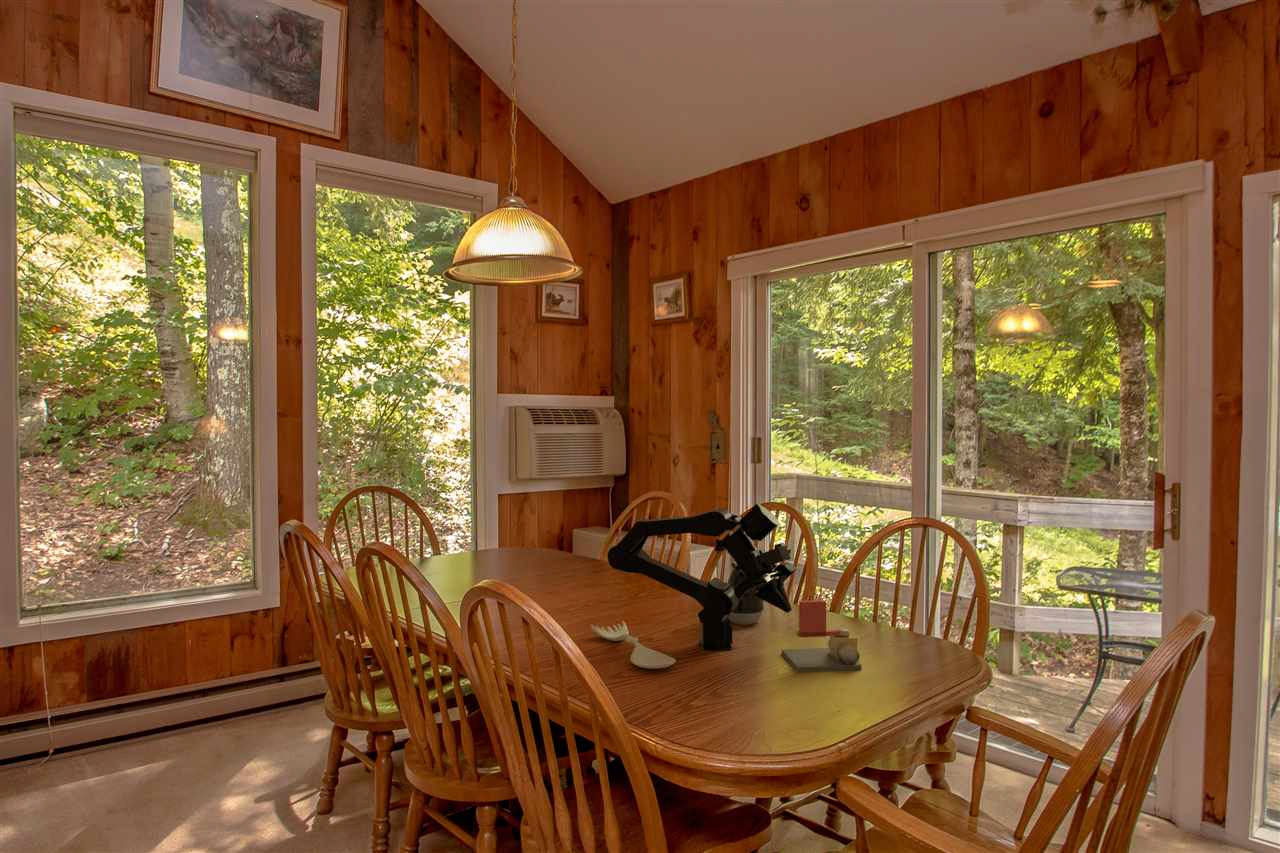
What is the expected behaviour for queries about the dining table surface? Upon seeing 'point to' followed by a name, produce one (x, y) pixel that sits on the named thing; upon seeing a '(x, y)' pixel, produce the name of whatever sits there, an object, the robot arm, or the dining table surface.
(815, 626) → the valve lever
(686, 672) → the dining table surface
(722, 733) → the dining table surface
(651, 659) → the white double-ended utensil part
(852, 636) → the ball valve
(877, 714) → the dining table surface
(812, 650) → the mounting board
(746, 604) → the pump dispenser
